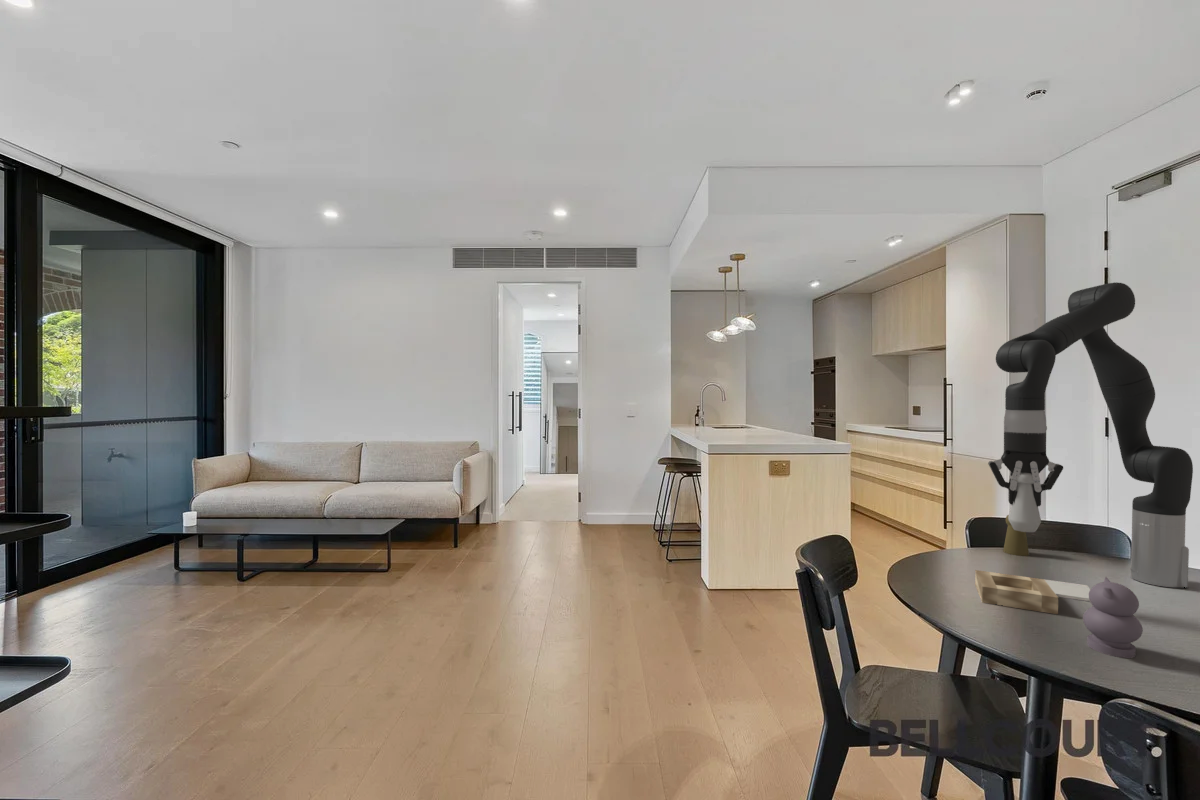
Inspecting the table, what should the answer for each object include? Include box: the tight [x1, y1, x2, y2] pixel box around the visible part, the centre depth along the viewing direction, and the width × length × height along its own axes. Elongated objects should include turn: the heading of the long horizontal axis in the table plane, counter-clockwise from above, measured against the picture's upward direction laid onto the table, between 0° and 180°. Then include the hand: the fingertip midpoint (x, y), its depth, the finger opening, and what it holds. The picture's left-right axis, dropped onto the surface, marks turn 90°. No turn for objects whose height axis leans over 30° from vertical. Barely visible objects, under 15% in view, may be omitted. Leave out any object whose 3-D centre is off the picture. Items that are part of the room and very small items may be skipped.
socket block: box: [974, 569, 1059, 615], centre depth 124 cm, size 13×13×4 cm
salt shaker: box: [1008, 473, 1042, 533], centre depth 124 cm, size 6×6×13 cm
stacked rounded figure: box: [1082, 576, 1144, 659], centre depth 99 cm, size 8×8×12 cm
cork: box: [1002, 514, 1030, 557], centre depth 160 cm, size 6×6×11 cm
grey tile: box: [1044, 579, 1091, 602], centre depth 129 cm, size 11×11×1 cm
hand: (1024, 507), depth 124 cm, fingers closed on salt shaker, 3 cm apart
